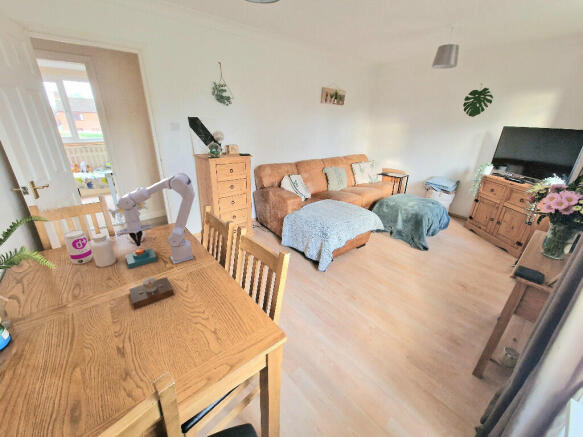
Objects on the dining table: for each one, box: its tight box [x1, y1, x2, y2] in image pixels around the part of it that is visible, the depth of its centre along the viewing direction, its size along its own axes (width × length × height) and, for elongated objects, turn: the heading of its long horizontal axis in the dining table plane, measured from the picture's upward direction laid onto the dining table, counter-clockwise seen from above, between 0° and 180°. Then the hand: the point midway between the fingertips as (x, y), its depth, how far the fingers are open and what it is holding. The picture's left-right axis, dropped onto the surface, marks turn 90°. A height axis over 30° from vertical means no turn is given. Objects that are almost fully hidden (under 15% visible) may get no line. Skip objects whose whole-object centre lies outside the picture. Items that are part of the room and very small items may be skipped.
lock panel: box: [128, 276, 175, 310], centre depth 97 cm, size 14×10×3 cm
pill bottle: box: [89, 232, 117, 268], centre depth 114 cm, size 8×8×15 cm
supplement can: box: [62, 229, 94, 265], centre depth 115 cm, size 8×8×15 cm
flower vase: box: [106, 201, 148, 244], centre depth 133 cm, size 13×18×25 cm
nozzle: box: [134, 247, 144, 255], centre depth 118 cm, size 4×4×2 cm
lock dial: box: [142, 277, 157, 293], centre depth 96 cm, size 4×4×4 cm
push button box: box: [125, 248, 158, 270], centre depth 119 cm, size 12×10×4 cm
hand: (138, 245), depth 117 cm, fingers closed
